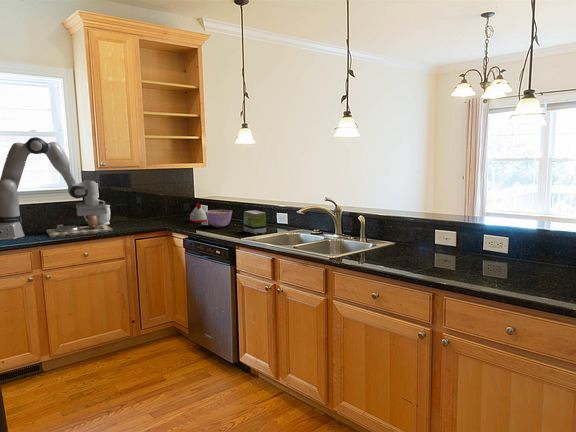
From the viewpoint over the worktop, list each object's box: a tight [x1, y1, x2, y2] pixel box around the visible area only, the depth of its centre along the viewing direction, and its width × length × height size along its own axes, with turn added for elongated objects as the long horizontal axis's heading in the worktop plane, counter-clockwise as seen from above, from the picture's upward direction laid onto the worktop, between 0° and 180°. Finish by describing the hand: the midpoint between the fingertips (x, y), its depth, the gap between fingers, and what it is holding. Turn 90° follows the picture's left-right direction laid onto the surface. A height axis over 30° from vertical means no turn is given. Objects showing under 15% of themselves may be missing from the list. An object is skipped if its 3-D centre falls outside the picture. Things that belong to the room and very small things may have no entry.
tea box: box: [243, 209, 267, 235], centre depth 309 cm, size 15×10×15 cm
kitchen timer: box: [189, 202, 208, 223], centre depth 359 cm, size 14×14×15 cm
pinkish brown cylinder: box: [87, 215, 99, 227], centre depth 316 cm, size 8×6×8 cm
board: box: [46, 224, 114, 238], centre depth 313 cm, size 40×24×2 cm, turn 123°
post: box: [56, 223, 81, 232], centre depth 310 cm, size 15×15×4 cm
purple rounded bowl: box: [205, 209, 233, 228], centre depth 333 cm, size 20×20×12 cm
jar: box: [97, 204, 111, 226], centre depth 344 cm, size 11×10×15 cm
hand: (92, 221), depth 317 cm, fingers closed on pinkish brown cylinder, 6 cm apart
